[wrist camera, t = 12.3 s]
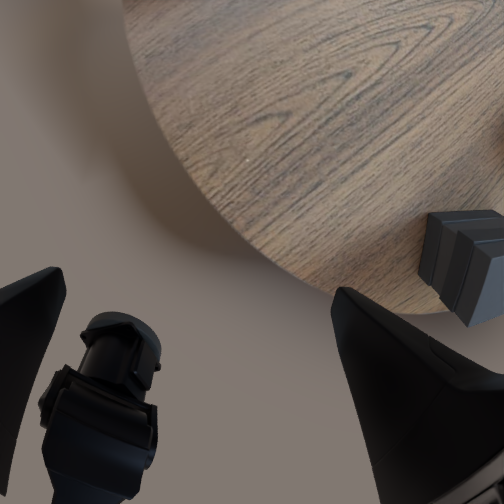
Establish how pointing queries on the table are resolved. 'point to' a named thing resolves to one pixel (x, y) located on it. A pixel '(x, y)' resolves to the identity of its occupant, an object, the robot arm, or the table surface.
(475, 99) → the table surface
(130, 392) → the robot arm
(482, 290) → the grey stack
